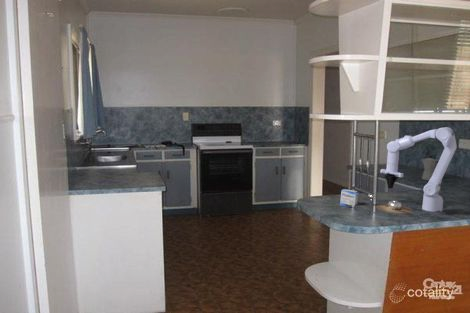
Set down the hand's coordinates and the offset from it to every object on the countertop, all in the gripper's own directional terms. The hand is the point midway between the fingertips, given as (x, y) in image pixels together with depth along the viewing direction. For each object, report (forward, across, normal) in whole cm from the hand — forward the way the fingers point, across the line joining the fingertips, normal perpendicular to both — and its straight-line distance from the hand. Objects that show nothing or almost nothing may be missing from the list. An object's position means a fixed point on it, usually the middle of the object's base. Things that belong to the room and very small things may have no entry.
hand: (390, 188), depth 219 cm
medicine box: (+10, -4, -24) cm, 26 cm away
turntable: (+9, +11, -7) cm, 16 cm away
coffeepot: (+10, -52, +91) cm, 105 cm away
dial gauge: (+9, +2, -14) cm, 17 cm away
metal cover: (+8, +11, -7) cm, 15 cm away
